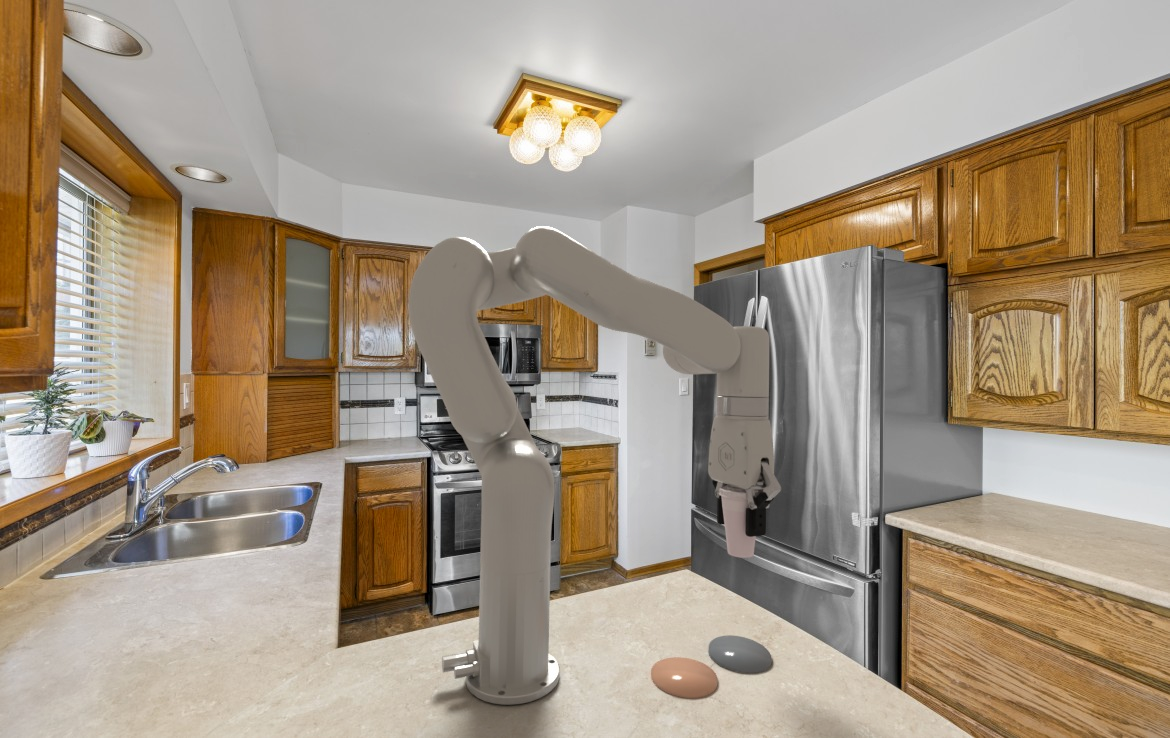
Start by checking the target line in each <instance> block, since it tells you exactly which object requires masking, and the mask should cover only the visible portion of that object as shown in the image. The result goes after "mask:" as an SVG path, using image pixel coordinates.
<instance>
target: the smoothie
mask: <svg viewBox="0 0 1170 738" xmlns="http://www.w3.org/2000/svg"><path fill="white" fill-rule="evenodd" d="M754 493H755V497H757V496H758V495H759V492H758V491H754ZM719 495H721V498H722V507H723V516H724V524H723V525H724V531H725V539H726V546H727V547H726V548H727V549H726V550H727V554H728V555H729V556H732V557H736V558H741V559H742V558H744V559H746V558H752V557H754V555H755V554H754V553H755V545H756V538H757V536H753V537H749V536H747V535H746V533H745V526H746V508H750V507H749V504H748V499H747V495H746V490H745V489H742V488H738V487H735V486H731V485H728V484H727V485H726V486H721V487H720V488H719Z"/></svg>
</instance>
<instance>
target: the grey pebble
mask: <svg viewBox="0 0 1170 738" xmlns="http://www.w3.org/2000/svg"><path fill="white" fill-rule="evenodd" d="M707 653H708V657H709V658H710V659H711V660H712V662H714V663H715V664H717V665H718V666H720V667H721V668H724V669H726V670H728V671H733V672H735V673H743V674H756V673H757V674H758V673H762V672H765V671H767V670H768V669H770V667H771V665H772V658H773V657H772V655H771V653H770V651H769V649H767V648H766V647H765V646H764V645H763V644H761V643H759V642H758V641H755V640H754V639H752V638H751V639H750V638H748V637H745V636H740V635H739V636H738V635H719V636H717V637H715V638H713V639H712V640H711V641H710V642H709V644H708V652H707Z"/></svg>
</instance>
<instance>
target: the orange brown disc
mask: <svg viewBox="0 0 1170 738" xmlns="http://www.w3.org/2000/svg"><path fill="white" fill-rule="evenodd" d="M650 678H651V681H652V680H653V681H652V682H653V684H654V683H655V684H656V685H655V684H654V685H655V686H656V687H657V686H658V687H659V689H660V690H661V689H662V690H661V691H663V692H665V693H667V694H669V695H672V696H676V697H681V698H684V699H685V698H688V699H697V698H703V697H706V696H708V695H711V694H712V693H713V692H715V690H716V689H717V687H718V680H719V679H718V676H717V674H716V672H715V671H714V669H712V668H711V667H710V666H709V665H707V664H705V663H703V662H701V661H699V660H695V659H693V658H687V657H681V656H680V657H679V656H678V657H677V656H675V657H667V658H663V659H660V660H658V661H657V662H655V663H654V664H653V665H652V666H651V669H650ZM658 687H657V688H658Z"/></svg>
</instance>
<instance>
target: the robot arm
mask: <svg viewBox="0 0 1170 738" xmlns="http://www.w3.org/2000/svg"><path fill="white" fill-rule="evenodd" d="M412 276H413V277H412V280H411V283H410V288H409V294H408V302H407V303H408V305H407V306H408V317H409V323H410V327H411V330H412V334H413V336H414V337H413V338H414V340H415V341H416V344H417V347H418V349H419V350H420V351H419V352H420V354H421V356H422V358H423V360H424V363H425V364H426V367H427V369H428V371H429V374H430V376H431V378H432V380H433V382H434V384H435V386H436V389H437V391H438V393H439V395H440V398H441V399H442V401H443V403H444V407H445V408H446V411H447V414H448V417H449V420H450V422H451V425H452V426H453V428H454V430H456V432H457V433H458V434H460V436H461V437H462V439H463V442H464V444H465V445H466V447H467V449H468V452H469V453H470V456H471V458H472V460H473V462H474V463H475V466H476V468H477V469H478V471H479V473H480V476H481V510H480V511H481V515H480V517H481V518H480V519H481V521H480V548H479V549H480V552H479V553H480V558H479V560H480V561H479V565H480V566H479V567H480V568H479V604H478V605H479V606H478V607H479V608H478V609H479V610H478V639H475V640H473V641H472V648H469V649H466V650H465V652H462V653H458V654H457V653H453V654H448V655H447V654H446V655H442V657H441V669H442V673H444V674H445V673H449V672H453V677H454V679H455V680H456V679H462V678H465V685H466V687H467V689H468V691H469V692H470V693H471V694H472V695H474V696H475V697H476V698H477V699H480V700H482V701H484V702H486V703H489V704H495V705H502V706H505V705H507V706H508V705H509V706H513V705H522V704H526V703H530V702H533V701H535V700H538V699H541V698H543V697H545V696H546V695H548V694H549V693H551V692H552V691H553V690H554V688H556V686H557V684H558V683H559V680H560V672H561V671H560V664H559V662H558V660H557V659H556V658H555V657H554V656H553V655H552V654H550V653H549V650H550V649H549V648H550V647H549V645H550V640H549V639H550V607H551V606H550V603H551V601H550V598H551V597H550V595H551V594H550V593H551V591H550V590H551V554H552V553H551V551H552V549H551V548H552V546H551V545H552V526H553V525H552V524H553V517H554V515H553V514H554V504H555V491H556V487H555V477H554V473H553V470H552V467H551V464H550V462H549V460H548V459H547V458H546V457H545V455H544V454H543V452H541V451H540V449H539V448H538V446H537V445H536V443H535V441H534V439H533V436H532V435H531V432H530V431H529V428H528V427H527V424H526V421H525V420H524V418H523V416H522V414H521V411H520V409H519V407H518V403H517V398H516V395H515V393H514V391H513V389H512V388H511V386H510V385H509V384H508V382H507V380H506V379H505V377H504V376H503V373H502V372H501V370H500V368H499V365H498V364H497V361H496V360H495V358H494V356H493V354H492V351H491V349H490V346H489V343H488V341H487V339H486V337H485V335H484V333H483V331H482V327H481V326H480V323H479V319H478V313H477V312H479V311H484V310H488V309H494V308H498V307H503V306H508V305H512V304H516V303H522V302H527V301H529V300H533V299H537V298H540V297H544V296H549V297H550V298H552V299H554V300H555V301H558V302H560V303H561V304H563V305H564V306H566V307H568V308H570V309H571V310H573V311H575V312H576V313H578V314H580V315H581V316H583V317H584V318H586V319H588V320H590V321H591V322H593V323H594V324H596V325H598V326H601V327H603V328H605V329H609V330H612V331H615V332H622V333H627V334H628V333H629V334H633V335H637V336H639V337H643V338H645V339H648V340H651V341H653V342H655V343H657V344H660V345H662V355H663V358H664V360H665V362H666V364H667V365H668V366H669V367H670V368H671V369H672V370H673V371H675V372H678V373H680V374H682V375H683V374H684V375H715V374H716V415H715V416H714V418H713V421H712V425H711V431H710V439H709V448H708V449H709V450H708V466H707V468H708V469H707V474H708V476H709V477H710V479H711V480H712V481H711V482H712V485H713V487H714V489H715V490H714V495H715V497H716V498H717V501H716V502H717V503H716V504H717V505H716V506H717V509H716V512H717V513H716V515H717V516H716V517H717V518H716V522H717V524H718V525H725V524H724V516H723V507H722V498H721V495H719V488H720V487H721V486H726V485H731V486H735V487H738V488H742V489H745V490H746V495H747V499H748V504H749V507H750V508H746V526H745V533H746V535H747V536H749V537H753V536H756V537H759V536H761V537H762V536H765V535H766V534H767V533H766V532H767V530H766V529H767V509H769V508H770V506H771V502H773V501H774V499H775V497H777V495H778V494H779V493H780V492H781V491H782V486H781V484H780V482H779V481H778V478H777V477H776V476H775V455H774V453H775V451H774V442H773V441H774V440H773V431H772V426H771V420H770V419H769V408H770V407H769V399H770V398H769V396H770V392H769V391H770V389H769V388H770V334H769V332H768V331H767V330H766V329H765V328H762V327H761V326H760V327H759V326H750V325H747V326H746V325H742V326H741V325H740V326H733V325H731V323H730V322H729V321H727V320H726V318H724V317H722V316H720V315H719V314H718V313H716V312H714V311H713V310H712V309H710V308H708V307H706V305H703V304H701V303H700V302H698V301H696V300H695V299H693V298H691V297H689V296H687V295H685V294H683V293H680V292H678V291H676V290H674V289H672V288H671V289H670V288H668V287H665V286H662V285H659V284H657V283H654V282H652V281H650V280H647V279H644V278H641V277H638V276H636V275H633V274H632V273H629V272H627V271H626V270H624V269H622V268H621V267H619V266H618V265H616V264H614V263H612V262H611V261H609V260H608V259H606V258H604V257H602V256H601V255H599V254H598V253H596V252H595V251H593V250H591V248H588V247H586V246H585V245H583V244H581V243H580V242H578V241H577V240H575V239H573V238H572V237H570V236H568V235H567V234H565V233H563V232H562V231H560V230H558V229H556V228H553V227H550V226H544V225H542V226H536V227H534V228H533V227H532V228H531V229H529V230H528V231H526V232H525V233H524V234H523V235H522V236H521V237H520V238H519V240H518V242H517V243H516V246H513V247H511V248H506V249H501V250H496V251H491V252H487V251H486V250H485V249H484V247H482V246H481V245H480V244H479V243H478V242H476V241H475V240H473V239H470V238H467V237H464V236H463V237H461V236H455V237H448V238H446V239H444V240H442V241H440V242H438V243H437V244H435V245H433V247H432V248H430V250H429V251H428V252H427V253H426V254H425V256H424V257H423V258H422V260H421V261H420V263H419V264H418V266H417V268H416V270H415V272H414V274H413V275H412ZM754 491H758V492H759V495H758V496H757V497H755V493H754Z"/></svg>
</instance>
